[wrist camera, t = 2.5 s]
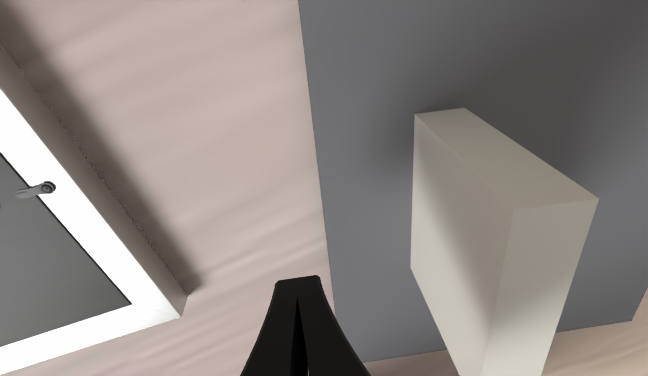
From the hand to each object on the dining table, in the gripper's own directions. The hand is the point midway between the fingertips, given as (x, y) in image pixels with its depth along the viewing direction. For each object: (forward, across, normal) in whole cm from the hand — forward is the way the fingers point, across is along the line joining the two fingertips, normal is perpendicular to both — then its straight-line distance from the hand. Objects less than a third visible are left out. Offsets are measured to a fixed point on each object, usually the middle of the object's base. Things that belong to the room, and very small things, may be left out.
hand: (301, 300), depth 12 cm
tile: (+5, -6, 0) cm, 8 cm away
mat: (+6, -10, 0) cm, 12 cm away
